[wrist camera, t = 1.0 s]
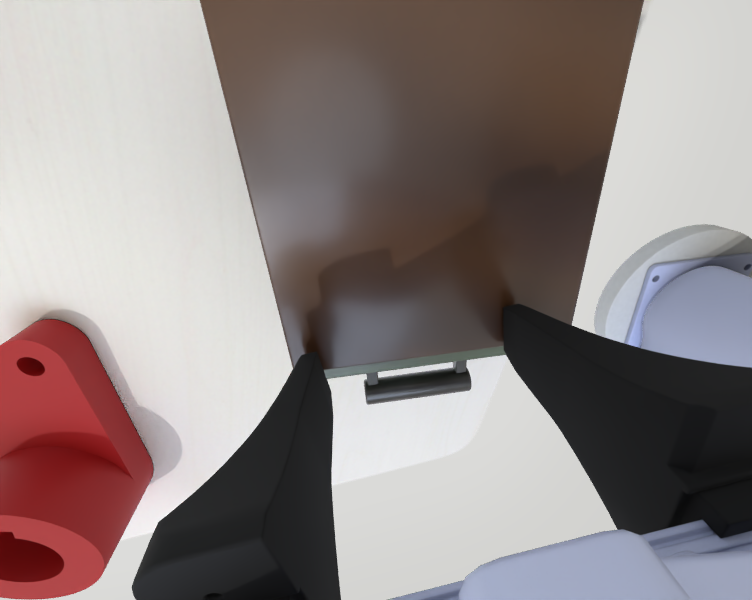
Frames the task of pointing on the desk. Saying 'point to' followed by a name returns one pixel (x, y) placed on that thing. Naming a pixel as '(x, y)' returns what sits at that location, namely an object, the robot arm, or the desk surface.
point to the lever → (62, 463)
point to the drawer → (416, 376)
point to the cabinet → (421, 160)
